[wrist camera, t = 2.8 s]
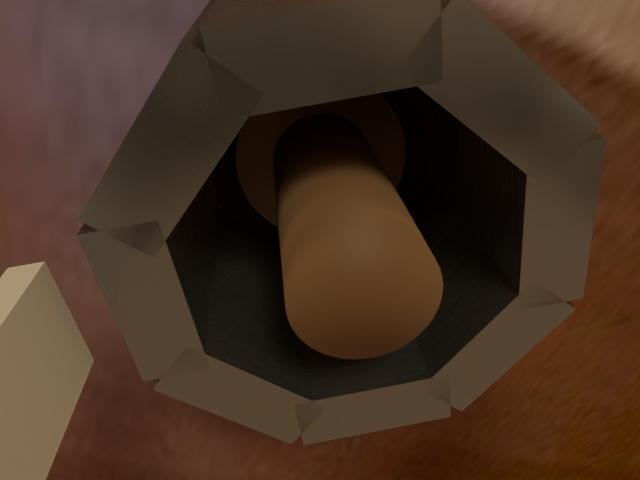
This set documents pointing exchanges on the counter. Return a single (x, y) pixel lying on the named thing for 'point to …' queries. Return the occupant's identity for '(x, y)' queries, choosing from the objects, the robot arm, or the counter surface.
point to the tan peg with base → (341, 224)
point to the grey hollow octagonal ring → (422, 202)
